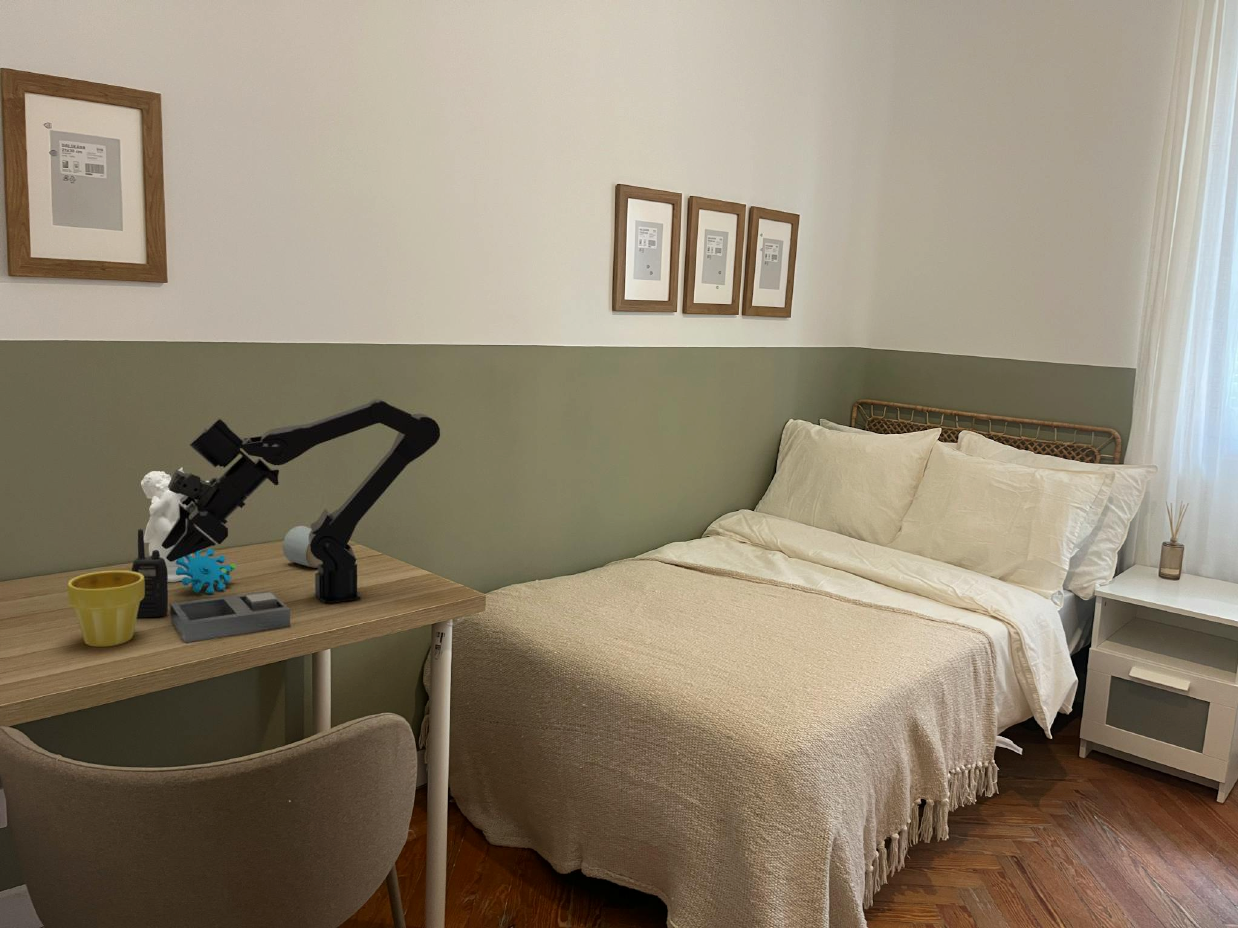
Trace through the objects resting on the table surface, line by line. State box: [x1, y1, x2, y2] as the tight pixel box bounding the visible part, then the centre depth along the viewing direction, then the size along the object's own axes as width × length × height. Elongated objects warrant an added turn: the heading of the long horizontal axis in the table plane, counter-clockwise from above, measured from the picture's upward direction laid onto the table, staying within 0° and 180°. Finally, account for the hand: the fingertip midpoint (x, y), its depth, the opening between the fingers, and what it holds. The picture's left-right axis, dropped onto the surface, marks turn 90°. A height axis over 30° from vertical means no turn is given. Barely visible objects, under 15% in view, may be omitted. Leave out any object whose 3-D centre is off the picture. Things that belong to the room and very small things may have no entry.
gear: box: [175, 547, 237, 595], centre depth 173 cm, size 11×6×10 cm
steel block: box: [246, 592, 278, 611], centre depth 157 cm, size 4×4×4 cm
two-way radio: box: [130, 528, 169, 619], centre depth 156 cm, size 6×4×15 cm
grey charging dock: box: [169, 590, 291, 643], centre depth 154 cm, size 16×12×3 cm
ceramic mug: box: [282, 525, 323, 569], centre depth 192 cm, size 11×8×8 cm
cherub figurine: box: [140, 467, 210, 583], centre depth 179 cm, size 12×12×22 cm
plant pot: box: [67, 570, 145, 648], centre depth 144 cm, size 10×10×10 cm
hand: (165, 553), depth 157 cm, fingers open, 9 cm apart
